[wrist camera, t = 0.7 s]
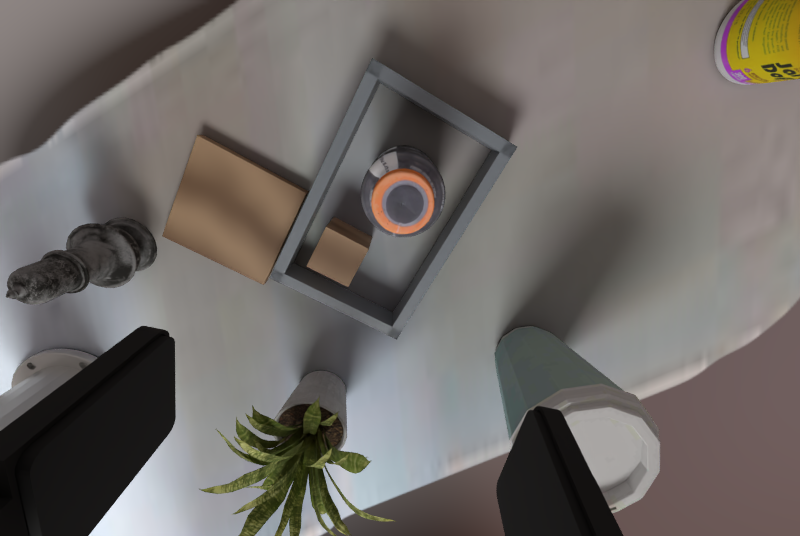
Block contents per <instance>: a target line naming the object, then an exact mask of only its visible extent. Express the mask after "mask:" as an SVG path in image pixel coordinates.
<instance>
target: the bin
mask: <svg viewBox="0 0 800 536" xmlns="http://www.w3.org/2000/svg"><path fill="white" fill-rule="evenodd" d="M380 83H381V84H383V85H385V86H386V87H388V88H390V89H391V90H393V91H395V92H396V93H398V94H400V95H401V96H403V97H405V98H406V99H408V100H409V101H411V102H413V103H414V104H416V105H418V106H419V107H421V108H423V109H424V110H426V111H428V112H429V113H431V114H433V115H434V116H436V117H438V118H439V119H441V120H443V121H444V122H446V123H448V124H449V125H451V126H453V127H454V128H456V129H458V130H459V131H461V132H463V133H464V134H466V135H468V136H469V137H471V138H472V139H474V140H476V141H477V142H479V143H481V144H482V145H484V146H486V147H487V148H489V149H491V152H490V154H489V155H488V157H487V159H486V160H485V162H484V163H483V165H482V167H481V168H480V170H479V172H478V173H477V175H476V177H475V178H474V180H473V182H472V183H471V185H470V187H469V188H468V190H467V191H466V193H465V195H464V196H463V198H462V200H461V201H460V203H459V205H458V206H457V208H456V210H455V211H454V213H453V215H452V216H451V218H450V219H449V221H448V223H447V224H446V226H445V228H444V229H443V231H442V233H441V234H440V236H439V238H438V239H437V241H436V243H435V244H434V246H433V247H432V249H431V251H430V252H429V254H428V256H427V257H426V259H425V261H424V262H423V264H422V266H421V267H420V269H419V271H418V272H417V274H416V275H415V277H414V279H413V280H412V282H411V284H410V285H409V287H408V289H407V290H406V292H405V294H404V295H403V297H402V299H401V300H400V302H399V303H398V305H397V307H396V308H395V310H394V312H391V311H389V310H387V309H385V308H383V307H381V306H379V305H377V304H375V303H373V302H371V301H369V300H367V299H365V298H363V297H361V296H359V295H357V294H355V293H353V292H351V291H349V290H347V289H345V288H343V287H341V286H339V285H337V284H335V283H333V282H331V281H329V280H327V279H325V278H323V277H321V276H319V275H317V274H315V273H313V272H311V271H309V270H307V269H305V268H303V267H301V266H299V265H297V264H295V263H293V262H294V260H295V258H296V256H297V254H298V252H299V250H300V248H301V246H302V244H303V242H304V239H305V237H306V235H307V233H308V231H309V229H310V227H311V225H312V223H313V221H314V219H315V217H316V215H317V213H318V210H319V208H320V206H321V204H322V202H323V200H324V198H325V196H326V194H327V192H328V190H329V188H330V186H331V183H332V181H333V179H334V177H335V175H336V173H337V171H338V169H339V167H340V165H341V163H342V161H343V159H344V157H345V154H346V152H347V150H348V148H349V146H350V144H351V142H352V140H353V138H354V136H355V134H356V132H357V130H358V128H359V125H360V123H361V121H362V119H363V117H364V115H365V113H366V111H367V109H368V107H369V105H370V103H371V101H372V99H373V96H374V94H375V92H376V90H377V88H378V86H379V84H380ZM516 148H517V146H515V145H514V144H512V143H510V142H509V141H507V140H505V139H504V138H502V137H500V136H499V135H497V134H496V133H494V132H492V131H491V130H489V129H487V128H486V127H484V126H483V125H481V124H479V123H478V122H476V121H474V120H473V119H471V118H469V117H468V116H466V115H465V114H463V113H461V112H460V111H458V110H456V109H455V108H453V107H451V106H450V105H448V104H447V103H445V102H443V101H442V100H440V99H438V98H437V97H435V96H434V95H432V94H430V93H429V92H427V91H425V90H424V89H422V88H420V87H419V86H417V85H416V84H414V83H412V82H411V81H409V80H407V79H406V78H404V77H403V76H401V75H399V74H398V73H396V72H394V71H393V70H391V69H389V68H388V67H386V66H385V65H383V64H381V63H380V62H378V61H376V60H375V59H373V58H372V59H371V62H370V64H369V66H368V68H367V70H366V72H365V74H364V77H363V79H362V81H361V83H360V85H359V87H358V89H357V92H356V94H355V96H354V98H353V100H352V102H351V104H350V107H349V109H348V111H347V113H346V115H345V117H344V119H343V122H342V124H341V126H340V128H339V130H338V132H337V134H336V137H335V139H334V141H333V143H332V145H331V147H330V149H329V152H328V154H327V156H326V158H325V160H324V162H323V164H322V167H321V169H320V171H319V173H318V175H317V177H316V179H315V182H314V184H313V186H312V188H311V190H310V192H309V194H308V197H307V199H306V201H305V203H304V205H303V207H302V209H301V212H300V214H299V216H298V218H297V220H296V222H295V224H294V227H293V229H292V231H291V233H290V235H289V237H288V239H287V242H286V244H285V246H284V248H283V250H282V252H281V254H280V257H279V259H278V261H277V263H276V265H275V267H274V269H273V272H272V274H271V276H270V278H271V279H273V280H275V281H277V282H279V283H281V284H283V285H285V286H287V287H289V288H291V289H293V290H296V291H298V292H300V293H302V294H304V295H306V296H308V297H310V298H312V299H314V300H316V301H318V302H320V303H322V304H324V305H326V306H328V307H331V308H333V309H335V310H337V311H339V312H341V313H343V314H345V315H347V316H349V317H351V318H353V319H355V320H357V321H359V322H361V323H363V324H366V325H368V326H370V327H372V328H374V329H376V330H378V331H380V332H382V333H384V334H386V335H388V336H390V337H392V338H394V339H396V340H397V338H398V336H399V335H400V333H401V332H402V330H403V328H404V327H405V325H406V324H407V322H408V320H409V319H410V317H411V316H412V314H413V312H414V311H415V309H416V308H417V306H418V305H419V303H420V301H421V300H422V298H423V297H424V295H425V293H426V292H427V290H428V289H429V287H430V285H431V284H432V282H433V281H434V279H435V277H436V276H437V274H438V273H439V271H440V269H441V268H442V266H443V265H444V263H445V261H446V260H447V258H448V257H449V255H450V254H451V252H452V250H453V249H454V247H455V246H456V244H457V242H458V241H459V239H460V238H461V236H462V234H463V233H464V231H465V230H466V228H467V226H468V225H469V223H470V222H471V220H472V218H473V217H474V215H475V214H476V212H477V211H478V209H479V207H480V206H481V204H482V203H483V201H484V199H485V198H486V196H487V195H488V193H489V191H490V190H491V188H492V187H493V185H494V183H495V182H496V180H497V179H498V177H499V175H500V174H501V172H502V171H503V169H504V167H505V166H506V164H507V163H508V161H509V160H510V158H511V156H512V155H513V153H514V152H515V150H516Z"/></svg>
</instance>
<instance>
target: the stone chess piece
mask: <svg viewBox="0 0 800 536" xmlns="http://www.w3.org/2000/svg"><path fill="white" fill-rule="evenodd" d="M66 249H67V250H66V251H63V250H54V251H51V252H48V253H47V254H45V255H44V256H43V258H42V259H41V261H38V262H36V263H33V264H30V265H27V266H25V267H22V268H19V269H17V270H16V271H14V272H13V273H11V275H10V276H9V278H8V282H7V286H8V289H9V290H8V291H7V294H6V297H7V298H12V299H17V300H19V301H21V302H23V303H27V304H32V305H38V304H42V303H46V302H48V301H50V300H52V299H54V298H56V297H58V296H60V295H63V294H65V293H77V292H80V291H82V290H84V289H85V288H86V287H87V285H88V283H89V282H90V283H92V284H95V285H97V286H101V287H105V288H115V287H119V286H122V285H124V284H125V283H127V282H129V281H130V280H131V278H132V277H133V276H134V273H135V271H141V270H144V269H146V268H148V267H149V266H151V264H152V263H153V262H154V260H155V258H156V255H157V247H156V243H155V240H154V238H153V236H152V234H151V233H150V232H149V231H148V230H147V228H145V227H144V226H143V225H142V224H140V223H138V222H136V221H134V220H131V219H127V218H117V219H113V220H110V221H109V222H107V223H106V224H105V225H101V224H85V225H82V226H79V227H77V228H76V229H74V230H73V231H72V233H71V234H70V235H69V237H68V240H67V244H66Z"/></svg>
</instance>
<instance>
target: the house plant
mask: <svg viewBox="0 0 800 536" xmlns="http://www.w3.org/2000/svg"><path fill="white" fill-rule="evenodd" d="M252 407H253V405H252ZM246 416H247V418H248V420H249V422H250V423H251V425H252V426H253V427H254V428H255V429H257V430H259V431H260V432H262V433H264V434H268V435H272V436H274V438H275V440H276V441H267V440H263V439H261V438H259V437H258V436H256V435H255V434H253V433H252V432H251V431H250V430H248V429H247V428H246V427H244V426H243V425H241V424H240V423H239V422H238V420H237V419H236V432H237V434H238V437H239V438H240V439H241V440H239V439H237V438H235V437H234V438H235V440H236V441H237V443H238V444H239V445H240V446H241V448H242V449H243V450H244V451H246V452H247V453H248V454H249V455H248V454H244V453H242V452H241V451H239V450H237V449H236V448H235V447H234V446H233V445H232V444H231V443H230V442H229V441H228V440H227V439H226V438H225V437H224V436H223V435H222V434H221V433H220V432H219V431H218V430H217V429H216V430H217V431H218V432H219V433H220V435H221V436H222V437H223V438H224V440H225V441H226V442H227V444H228V446H229V447H230V448H231V449H232V451H233V452H235V453H236V454H237V455H238V456H240V457H241V458H243V459H245V460H247V461H250V462H253V463H256V464H259V465H263V466H264V465H266V466H264V467H262V468H260V469H257V470H255V471H252V472H250V473H247V474H244V475H243V476H241V477H240V478H238V479H236V480H235V481H233V482H231V483H229V484H225V485H221V486H215V487H211V488H207V489H203V490H202V489H200V490H202V491H204V492H209V493H216V494H222V493H229V492H234V491H236V490H239V489H242V488H244V487H247V486H249V485H252V484H254V483H257V482H259V481H260V480H262V479H264V478H266V477H267V476H268V475H269V474H270V475H269V476H268V477H267V478H266V480H265V481H264V483H263V485H262V486H254V487H250V488H260V489H264V490H267V491H266V492H265V493H263V494H262V495H261V496H260V497H258V498H256V499H255V500H253V501H251V502H249V503H248V504H246V505H244V506H243V507H242V508H241V509H239V510H238V511H237V512H235V513H234V514H237V513H240V512H243V511H245V510H248V509H251V508H253V507H255V506H256V507H255V508H254V509H253V510H252V512H251V513H250V514H249V515H248V517H247V520H246V522H245V524H244V527H243V529H242V532H241V533H240V535H239V536H254V535H255V534H256V533H257V532H258V531H259V530H260V529H261V527H262V526H263V525H264V524H265V523H266V521H267V520H268V519H269V518H270V517H271V515H272V514H273V513H274V512H275V511H276V510H277V509H278V507H279V506H280V505H281V503H282V502H283V501H284V499H285V497H286V494H287V492H288V489H289V487H290V485H291V484H292V482H293V481H294V482H293V485H292V487H291V490H290V493H289V495H288V498H287V500H286V503H285V505H284V510H283V514H282V518H281V522H280V525H279V527H278V530H277V532H276V534H275V536H281V535H282V533H283V531H284V529H285V527H286V525H287V523H288V520H289V518H290V520H289V528H290V536H299V533H300V528H301V512H302V504H303V499H304V495H305V490H306V484H307V478H308V474H309V486H310V495H311V502H312V506H313V508H314V509H315V512H316V515H317V518H318V521H319V522H320V524H321V525H322V527H323V528H325V529H326V530H327V531H328V532H329V533H330V534H332V535H333V536H336V535H335V534H334V533H333V532H332V531H331V530H330V529H329V528H328V527H327V526H326V525H325V523H324V521H323V519H322V518H321V515H320V514H325V513H327V514H328V516H329V517H330V519H331V521H332V522H333V524H334V526H335V527H336V528H337V529H338V530H339V531H340V532H342V533H343V534H345V535H347V534H349V535H350V533H349V531H348V529H347V527H346V525H345V524H344V523H343V522H342V520H341V518H340V515H339V512H338V509H337V508H336V506H335V504H334V502H333V501H332V499H331V496H330V494H329V492H328V488H327V484H326V480H325V477H324V473H323V467H325V469H326V471H327V473H328V475H329V477H330V479H331V480H332V482H333V484H334V485H335V487H336V489H337V490H338V492H339V494H340V495H341V497H342V498H343V500H344V501H345V502H346V504H347V505H348V506H349V507H350V508H351V509H352V510H353V511H354V512H355V513H356V514H358V515H359V516H362V517H364V518H366V519H371V520H377V521H393V520H390V519H384V518H380V517H376V516H372V515H369V514H367V513H364V512H363V511H361V510H359V509H357V508H356V507H355V506H353V505H352V504H351V503H350V502H349V501H348V500H347V499H346V498H345V497H344V495H343V494H342V492H341V491H340V489H339V488H338V487H337V485H336V484H335V482H334V481H333V479H332V477H331V476H330V474H329V472H328V470H327V468H326V466H325V463H326V462H327V463H329V464H336V465H340V466H341V467H342V468H344V469H345V470H347V471H349V472H352V473H359V472H361V471H362V470H363V469H365V467H366V466H367V465H368V464H369V463H370V462H371V461H368V460H367V459H366V458H367V457H366V458H365V457H364V456H363V455H361V454H358V453H353V452H344V451H340V449H341V448H342V447H343V446H344V444H345V441H346V438H347V416H346V388H345V385H344V383H343V381H342V380H341V379H340V378H339V377H338V376H337V375H335V374H333V373H331V372H328V371H314V372H311V373H309V374H307V375H306V376H305V377H303V379H302V380H301V382H300V383H299V385H298V386H297V387H296V389H295V390H294V392H293V393H292V394H291V396H290V397H289V399H288V400H287V402H286V403H285V404H284V406H283V407H282V409H281V410H280V411H279V413H278V414H277V416H276V417H275V419H274V420H273V419H271V418H269V417H267V416H264V415H262V414H260V413H259V412H257V411H256V410H255V409H254V407H253V418H252V417H250V416H248V415H246ZM249 445H250V446H249ZM278 445H279V446H278ZM251 446H252V447H255V448H258V450H259V451H258V450H255V449H254V448H252V447H251ZM276 446H277V447H276ZM274 447H275V448H274ZM267 448H273V449H271V450H270V449H267ZM332 461H334V462H336V463H333V462H332ZM345 532H346V533H347V534H346V533H345Z"/></svg>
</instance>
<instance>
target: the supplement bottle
mask: <svg viewBox="0 0 800 536" xmlns="http://www.w3.org/2000/svg"><path fill="white" fill-rule="evenodd" d="M714 57H715V63H716V65H717V68H718V70H719V71H720V73H721V74H722V75H723V76H724V77H725V78H726V79H728V80H729V81H731V82H734V83H737V84H743V85H750V84H761V83H770V82H778V81H786V80H794V79H800V0H741V1H740V2H739V3H738V4H737V5H736V6H735V7H734V8H733V9H732V10H731V11H730V12H729V13H728V15H727V16H726V17H725V19H724V20H723V22H722V24H721V26H720V28H719V30H718V33H717V35H716V39H715V45H714Z"/></svg>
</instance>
